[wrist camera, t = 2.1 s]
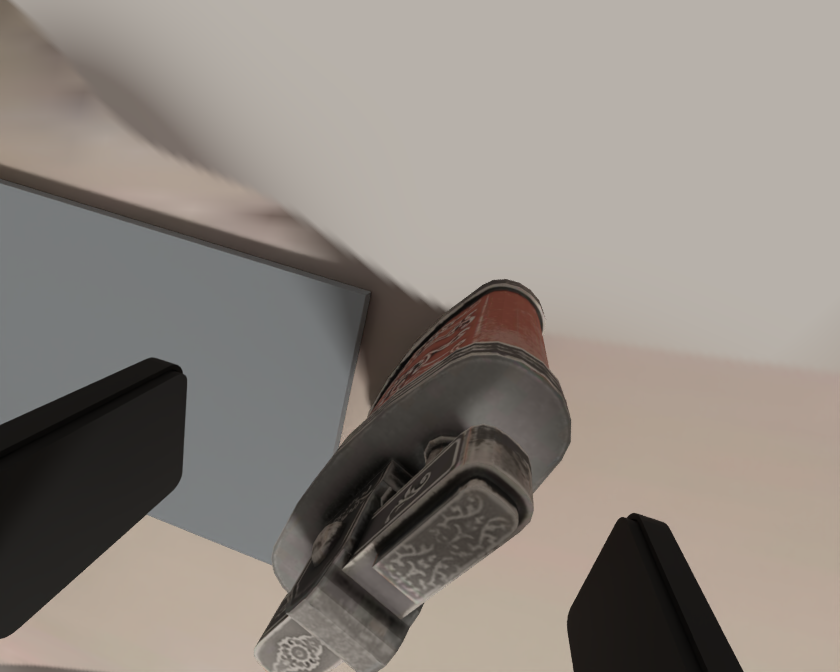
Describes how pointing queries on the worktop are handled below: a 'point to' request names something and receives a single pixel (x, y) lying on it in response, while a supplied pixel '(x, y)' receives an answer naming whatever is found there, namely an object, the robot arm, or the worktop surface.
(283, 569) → the lighter
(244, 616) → the worktop surface
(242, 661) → the worktop surface
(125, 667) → the worktop surface
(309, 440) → the mat
